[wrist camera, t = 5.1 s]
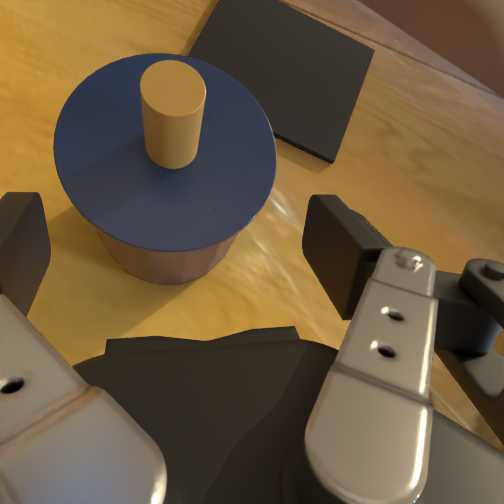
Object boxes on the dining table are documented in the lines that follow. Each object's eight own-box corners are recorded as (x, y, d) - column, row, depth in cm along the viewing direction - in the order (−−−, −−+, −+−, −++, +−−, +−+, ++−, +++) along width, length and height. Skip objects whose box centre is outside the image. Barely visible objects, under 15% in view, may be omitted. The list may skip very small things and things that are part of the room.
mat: (372, 53, 44) (375, 49, 43) (332, 164, 39) (334, 161, 38) (231, -19, 42) (232, -24, 41) (172, 87, 37) (172, 83, 37)
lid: (229, 51, 25) (248, -40, 20) (302, 219, 24) (347, 173, 18) (31, 89, 22) (-18, -7, 16) (98, 288, 20) (71, 261, 14)
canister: (206, 150, 36) (226, 52, 25) (250, 259, 35) (295, 210, 23) (84, 182, 33) (40, 88, 22) (126, 304, 32) (103, 274, 20)
